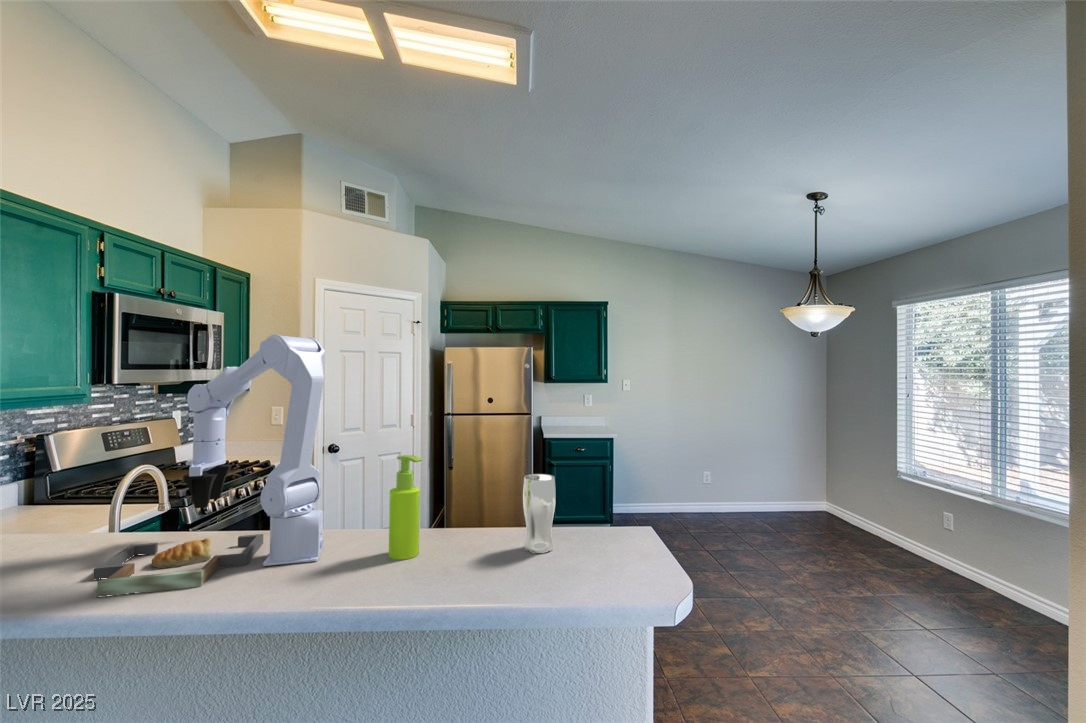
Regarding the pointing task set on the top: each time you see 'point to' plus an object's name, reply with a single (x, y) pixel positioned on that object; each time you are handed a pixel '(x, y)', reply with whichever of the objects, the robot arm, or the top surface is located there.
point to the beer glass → (539, 511)
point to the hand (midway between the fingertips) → (207, 503)
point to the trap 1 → (123, 559)
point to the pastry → (184, 554)
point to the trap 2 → (242, 558)
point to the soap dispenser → (404, 513)
